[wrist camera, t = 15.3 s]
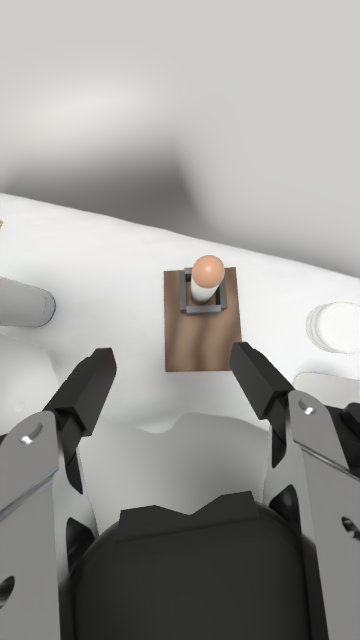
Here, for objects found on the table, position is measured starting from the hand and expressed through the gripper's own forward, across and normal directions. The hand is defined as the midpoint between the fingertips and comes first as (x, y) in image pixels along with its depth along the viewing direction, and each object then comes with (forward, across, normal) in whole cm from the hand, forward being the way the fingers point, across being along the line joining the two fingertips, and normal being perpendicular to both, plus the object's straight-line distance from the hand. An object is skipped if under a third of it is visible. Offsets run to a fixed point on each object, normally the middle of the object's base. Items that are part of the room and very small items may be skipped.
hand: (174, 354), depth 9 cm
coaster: (+15, -34, +8) cm, 38 cm away
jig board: (+19, -7, +7) cm, 22 cm away
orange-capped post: (+21, -7, +2) cm, 22 cm away
